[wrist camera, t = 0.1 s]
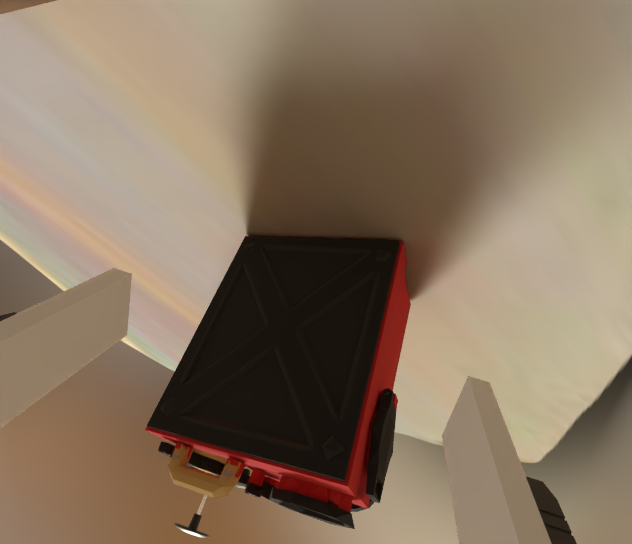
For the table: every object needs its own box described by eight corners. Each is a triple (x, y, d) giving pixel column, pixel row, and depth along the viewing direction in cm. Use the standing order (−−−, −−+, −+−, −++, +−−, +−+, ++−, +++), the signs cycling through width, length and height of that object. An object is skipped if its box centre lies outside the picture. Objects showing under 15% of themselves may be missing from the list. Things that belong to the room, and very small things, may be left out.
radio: (277, 295, 44) (194, 496, 33) (239, 230, 36) (114, 462, 25) (427, 310, 38) (385, 563, 27) (418, 235, 30) (354, 544, 19)
